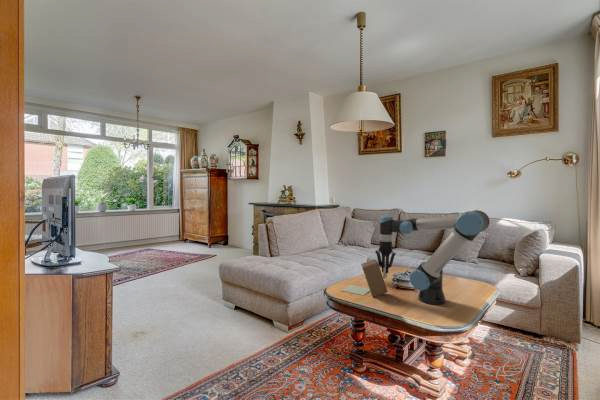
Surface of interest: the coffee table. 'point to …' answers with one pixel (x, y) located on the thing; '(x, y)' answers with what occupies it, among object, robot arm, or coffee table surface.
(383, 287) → the block
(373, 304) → the coffee table surface
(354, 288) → the mat
